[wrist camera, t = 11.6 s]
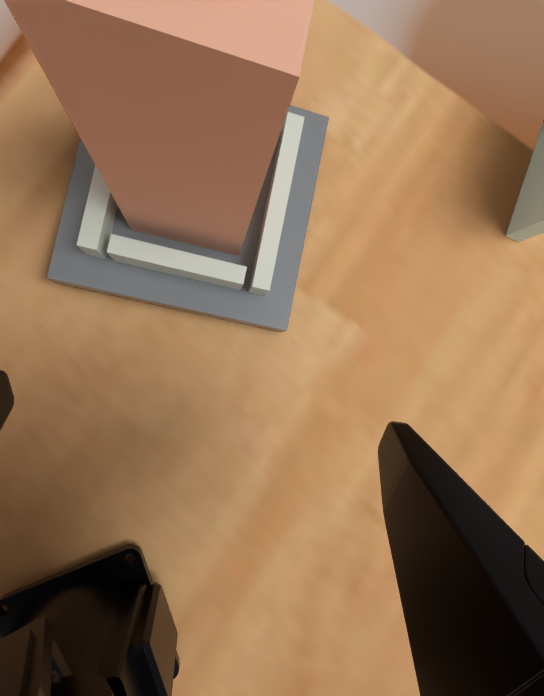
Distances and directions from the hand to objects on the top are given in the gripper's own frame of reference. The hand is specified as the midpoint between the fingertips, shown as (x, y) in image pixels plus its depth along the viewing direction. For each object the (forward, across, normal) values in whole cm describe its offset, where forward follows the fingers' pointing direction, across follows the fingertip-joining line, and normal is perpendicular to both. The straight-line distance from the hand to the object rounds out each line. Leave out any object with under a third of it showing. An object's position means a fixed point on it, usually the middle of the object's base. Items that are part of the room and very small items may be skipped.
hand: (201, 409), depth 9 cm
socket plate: (+13, +3, -1) cm, 14 cm away
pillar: (+12, +3, -2) cm, 13 cm away
